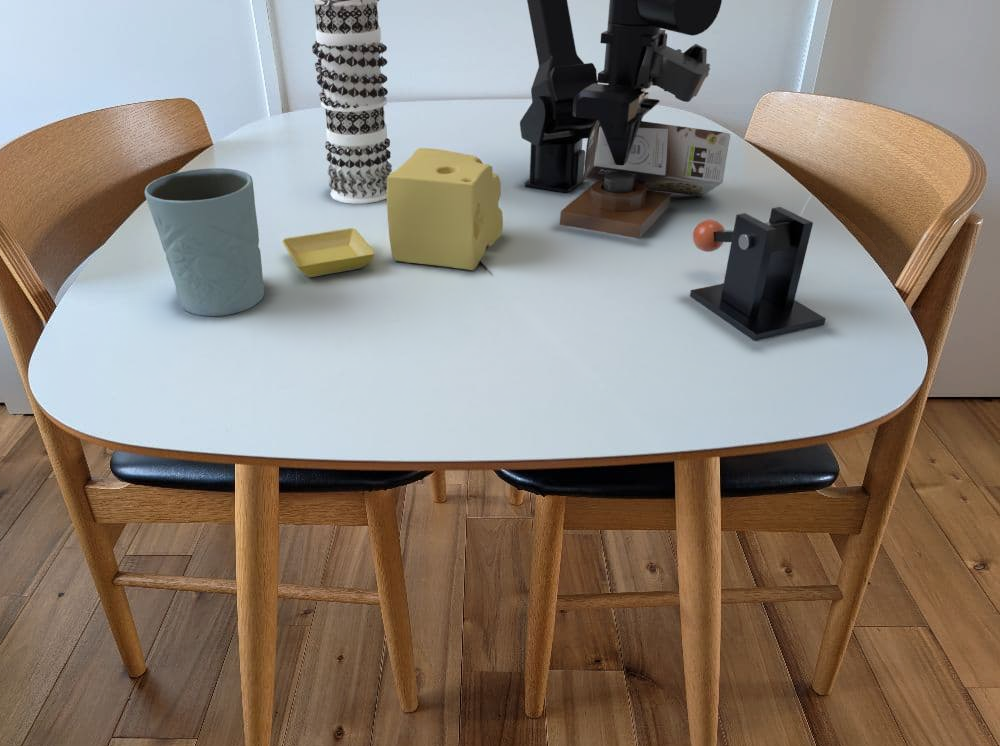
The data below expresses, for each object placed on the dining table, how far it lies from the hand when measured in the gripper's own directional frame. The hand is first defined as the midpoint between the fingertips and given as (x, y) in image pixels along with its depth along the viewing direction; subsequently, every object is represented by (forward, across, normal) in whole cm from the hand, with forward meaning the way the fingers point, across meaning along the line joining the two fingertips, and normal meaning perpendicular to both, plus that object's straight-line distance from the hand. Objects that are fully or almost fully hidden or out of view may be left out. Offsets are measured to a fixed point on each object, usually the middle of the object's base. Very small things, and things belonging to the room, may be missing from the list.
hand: (620, 164), depth 96 cm
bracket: (+7, -18, -21) cm, 28 cm away
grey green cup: (+7, -39, +29) cm, 49 cm away
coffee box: (+2, +11, -9) cm, 15 cm away
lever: (+2, -16, -18) cm, 24 cm away
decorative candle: (+7, -6, +34) cm, 35 cm away
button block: (+7, 0, 0) cm, 7 cm away
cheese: (+7, -18, +14) cm, 24 cm away
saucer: (+7, -27, +24) cm, 37 cm away
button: (+3, 0, 0) cm, 3 cm away
